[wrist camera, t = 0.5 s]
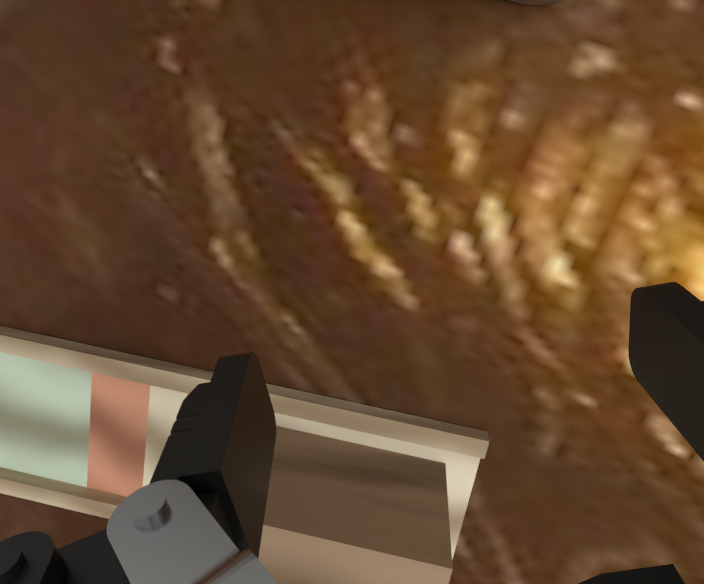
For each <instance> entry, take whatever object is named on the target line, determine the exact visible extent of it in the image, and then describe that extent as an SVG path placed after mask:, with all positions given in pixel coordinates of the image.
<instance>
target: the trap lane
mask: <svg viewBox="0 0 704 584" xmlns="http://www.w3.org/2000/svg"><path fill="white" fill-rule="evenodd" d="M213 373H214V372H211V371H207V370H202V369H197V368H193V367H188V366H184V365H179V364H174V363H170V362H165V361H161V360H156V359H151V358H147V357H142V356H138V355H133V354H128V353H124V352H119V351H115V350H110V349H105V348H101V347H96V346H92V345H87V344H82V343H78V342H73V341H68V340H64V339H59V338H55V337H50V336H45V335H41V334H36V333H32V332H27V331H22V330H18V329H13V328H9V327H4V326H0V493H3V494H7V495H11V496H15V497H19V498H24V499H28V500H32V501H36V502H40V503H44V504H49V505H53V506H57V507H61V508H65V509H70V510H74V511H78V512H82V513H86V514H91V515H95V516H99V517H103V518H107V519H110V517H111V515H112V513H113V512H114V510H115V509H116V508H117V506H118V505H119V504H120V503H121V502H122V501H123V500H124V499H125V498H127V497H128V496H129V495H130V494H132V493H133V492H135V491H136V490H138V489H140V488H142V487H144V486H146V485H148V484H149V483H150V481H151V478H152V476H153V473H154V471H155V468H156V466H157V463H158V461H159V459H160V456H161V454H162V451H163V449H164V446H165V444H166V441H167V439H168V436H170V435H171V433H170V431H171V429H172V426H173V424H174V422H175V421H176V417H177V414H178V412H179V409H180V407H181V404H182V402H183V400H184V399H185V398H186V397H187V396H188V395H189V394H190V392H191V391H192V390H193V389H194V388H195V387H196V386H197V385H198V384H201V383H207V382H210V381H211V378H212V376H213ZM266 386H267V389H268V393H269V396H270V399H271V403H272V406H273V409H274V414H275V420H276V426H280V427H285V428H289V429H294V430H298V431H303V432H307V433H312V434H316V435H321V436H325V437H330V438H334V439H339V440H343V441H348V442H352V443H357V444H361V445H366V446H370V447H375V448H379V449H384V450H388V451H393V452H397V453H402V454H406V455H411V456H415V457H420V458H424V459H429V460H433V461H438V462H442V463H445V465H446V480H447V494H448V509H449V523H450V538H451V552H452V559H453V555H454V552H455V548H456V544H457V541H458V537H459V534H460V530H461V526H462V523H463V519H464V515H465V512H466V508H467V505H468V501H469V497H470V494H471V490H472V486H473V483H474V479H475V476H476V472H477V468H478V465H479V461H480V458H483V459H485V455H486V452H487V448H488V444H489V438H488V433H487V431H483V430H479V429H474V428H469V427H465V426H460V425H456V424H451V423H446V422H442V421H437V420H433V419H428V418H423V417H419V416H414V415H409V414H405V413H400V412H396V411H391V410H386V409H382V408H377V407H373V406H368V405H363V404H359V403H354V402H350V401H345V400H340V399H336V398H331V397H327V396H322V395H317V394H313V393H308V392H303V391H299V390H294V389H290V388H285V387H280V386H276V385H271V384H267V383H266Z"/></svg>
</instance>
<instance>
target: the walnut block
mask: <svg viewBox="0 0 704 584" xmlns="http://www.w3.org/2000/svg"><path fill="white" fill-rule="evenodd" d="M258 560H259V561H260V562H261V563H262V565H263V566H264V567H265V568H266V570H267V571H268V572H269V573H270V575H271V576H272V577H273V578H274V580H275V581H276V582H277V583H278V584H449V581H450V577H451V573H452V570H453V567H452V552H451V538H450V523H449V509H448V494H447V480H446V465H445V463H442V462H438V461H433V460H429V459H424V458H420V457H415V456H411V455H406V454H402V453H397V452H393V451H388V450H384V449H379V448H375V447H370V446H366V445H361V444H357V443H352V442H348V441H343V440H339V439H334V438H330V437H325V436H321V435H316V434H312V433H307V432H303V431H298V430H294V429H289V428H285V427H280V426H276V442H275V449H274V455H273V462H272V469H271V476H270V483H269V489H268V496H267V503H266V510H265V517H264V523H263V530H262V537H261V544H260V551H259V557H258Z"/></svg>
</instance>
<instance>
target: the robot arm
mask: <svg viewBox="0 0 704 584" xmlns="http://www.w3.org/2000/svg"><path fill="white" fill-rule="evenodd" d="M508 1H511V2H515V3H518V4H527V5H545V4H550V3H556V2H561V1H564V0H508ZM629 361H630V365H631V368H632V371H633V374H634V376H635V378H636V379H637V381H638V382H639V383H640V385H641V386H642V387H643V388H644V389H645V391H646V392H647V393H648V394H649V395H650V397H651V398H652V399H653V400H654V402H655V403H656V404H657V405H658V406H659V408H660V409H661V410H662V411H663V412H664V414H665V415H666V416H667V417H668V418H669V420H670V421H671V422H672V423H673V425H674V426H675V427H676V428H677V429H678V431H679V432H680V433H681V434H682V435H683V437H684V438H685V439H686V440H687V441H688V443H689V444H690V445H691V446H692V447H693V449H694V450H695V451H696V452H697V454H698V455H699V456H700V457H701V458H702V460H703V461H704V301H700V300H699V299H698V298H696V297H695V296H694V295H693V294H691V293H690V292H689V291H687V290H686V289H685V288H684V287H682V286H681V285H680V284H678V283H676V282H670V283H664V284H658V285H652V286H646V287H640V288H636V289H635V290H634V291H633V293H632V296H631V307H630V330H629ZM170 433H171V435H170V436H168V439H167V441H166V444H165V446H164V449H163V451H162V454H161V456H160V459H159V461H158V463H157V466H156V468H155V471H154V473H153V476H152V478H151V481H150V483H149V484H148V485H146V486H144V487H142V488H140V489H138V490H136V491H135V492H133V493H132V494H130V495H129V496H128V497H127V498H125V499H124V500H123V501H122V502H121V503H120V504H119V505H118V506H117V508H116V509H115V510H114V512H113V513H112V515H111V517H110V519H109V521H108V525H107V528H106V529H104V530H102V531H100V532H98V533H95V534H93V535H90V536H88V537H86V538H83V539H81V540H78V541H76V542H73V543H71V544H68V545H66V546H63V547H61V548H58V549H57V547H56V545H55V544H54V542H53V540H52V539H51V538H50V536H49V535H47V534H45V533H43V532H36V531H32V532H25V533H21V534H18V535H15V536H12V537H10V538H8V539H6V540H3V541H2V542H0V584H278V583H277V582H276V581H275V580H274V578H273V577H272V576H271V575H270V573H269V572H268V571H267V570H266V568H265V567H264V566H263V565H262V563H261V562H260V561H259V560H258V557H259V551H260V544H261V537H262V530H263V523H264V517H265V510H266V503H267V496H268V489H269V483H270V476H271V469H272V462H273V455H274V449H275V442H276V420H275V414H274V409H273V406H272V403H271V399H270V396H269V393H268V389H267V386H266V383H265V379H264V376H263V373H262V369H261V366H260V363H259V360H258V357H257V355H256V354H255V353H254V352H249V353H243V354H237V355H231V356H225V357H220V358H219V359H218V361H217V364H216V367H215V370H214V373H213V376H212V378H211V381H210V382H207V383H201V384H198V385H197V386H196V387H195V388H194V389H193V390H192V391H191V392H190V394H189V395H188V396H187V397H186V398H185V399H184V400H183V402H182V404H181V407H180V409H179V412H178V414H177V417H176V421H175V422H174V424H173V426H172V429H171V431H170ZM579 584H685V583H684V582H683V580H682V578H681V577H680V575H679V573H678V572H677V570H676V569H675V567H674V565H673V564H669V565H662V566H655V567H647V568H640V569H633V570H626V571H619V572H612V573H605V574H600V575H598V576H595V577H593V578H590V579H588V580H586V581H583V582H581V583H579Z"/></svg>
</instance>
